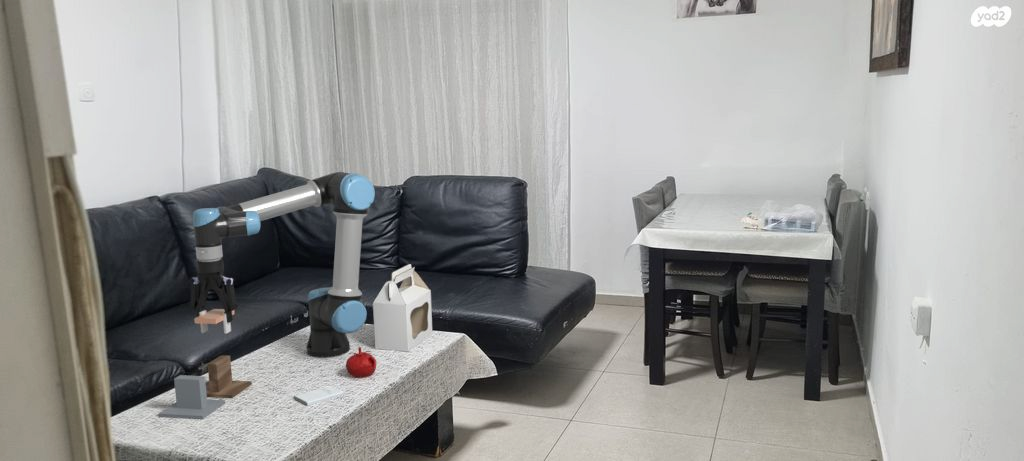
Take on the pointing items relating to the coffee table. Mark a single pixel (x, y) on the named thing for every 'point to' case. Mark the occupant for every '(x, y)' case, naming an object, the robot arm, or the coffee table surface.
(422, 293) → the gable box
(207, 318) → the terracotta tile
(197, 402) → the slate stand
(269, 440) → the coffee table surface
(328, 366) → the coffee table surface
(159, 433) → the coffee table surface
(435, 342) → the coffee table surface
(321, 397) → the external hard drive
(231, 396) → the walnut stand
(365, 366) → the pomegranate
